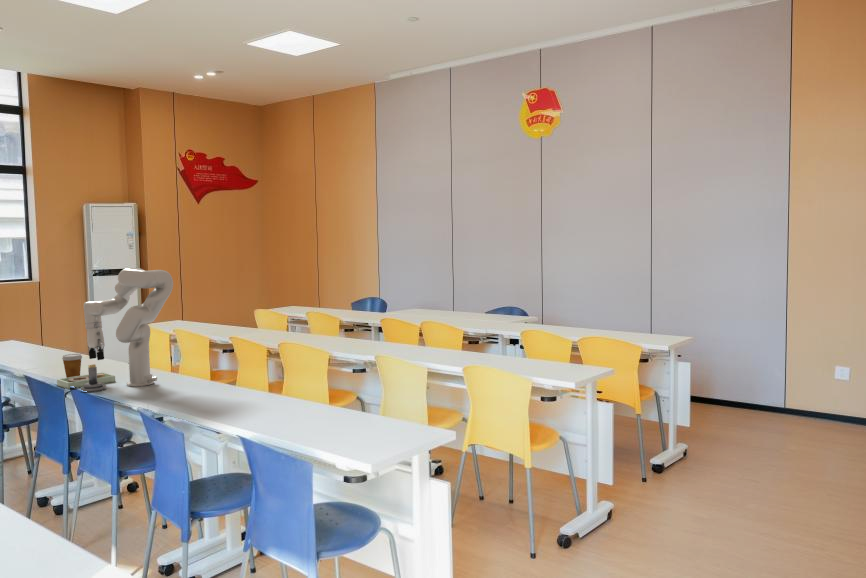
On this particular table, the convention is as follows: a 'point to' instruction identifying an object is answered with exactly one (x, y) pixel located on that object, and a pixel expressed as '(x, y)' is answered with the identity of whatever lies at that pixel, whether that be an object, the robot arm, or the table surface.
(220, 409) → the table surface
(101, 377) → the ring
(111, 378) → the tray
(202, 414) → the table surface
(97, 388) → the post
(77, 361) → the disposable coffee cup
